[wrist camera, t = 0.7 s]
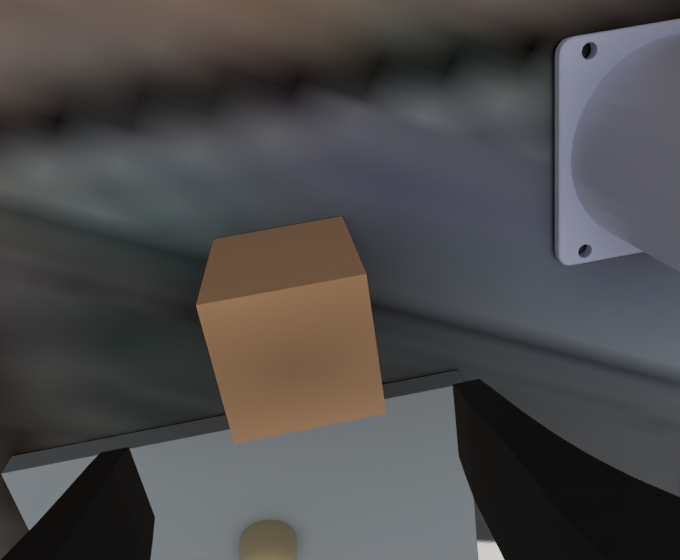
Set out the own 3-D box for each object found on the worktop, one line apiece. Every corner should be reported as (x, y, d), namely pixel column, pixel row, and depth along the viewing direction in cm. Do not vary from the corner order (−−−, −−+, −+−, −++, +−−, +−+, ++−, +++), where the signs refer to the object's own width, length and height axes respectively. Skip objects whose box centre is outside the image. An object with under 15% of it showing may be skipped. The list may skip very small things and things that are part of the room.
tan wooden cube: (342, 215, 21) (366, 274, 16) (359, 329, 22) (386, 413, 17) (213, 238, 20) (196, 305, 15) (241, 351, 22) (234, 443, 17)
